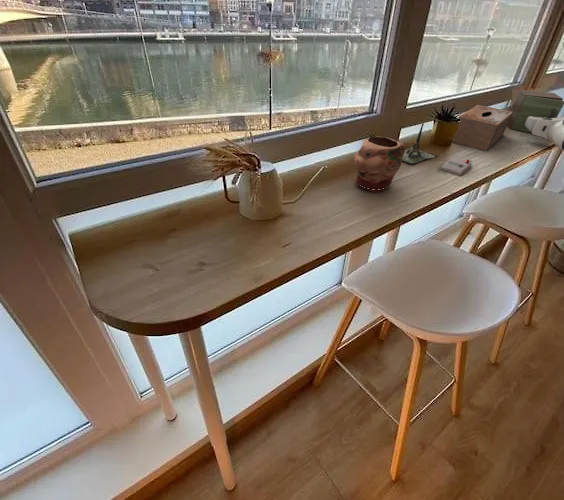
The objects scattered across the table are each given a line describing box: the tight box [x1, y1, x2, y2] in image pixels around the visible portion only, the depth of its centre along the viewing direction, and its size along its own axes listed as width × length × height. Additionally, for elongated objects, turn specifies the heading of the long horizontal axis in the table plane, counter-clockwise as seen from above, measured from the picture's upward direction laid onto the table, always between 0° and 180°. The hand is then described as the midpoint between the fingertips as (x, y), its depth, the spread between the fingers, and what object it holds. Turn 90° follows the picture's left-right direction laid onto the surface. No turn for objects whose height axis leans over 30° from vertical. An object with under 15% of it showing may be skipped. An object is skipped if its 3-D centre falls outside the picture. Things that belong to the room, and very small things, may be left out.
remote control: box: [440, 157, 473, 176], centre depth 114 cm, size 7×16×3 cm, turn 136°
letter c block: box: [510, 96, 564, 134], centre depth 143 cm, size 6×15×14 cm, turn 58°
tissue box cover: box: [451, 104, 513, 152], centre depth 137 cm, size 26×14×10 cm, turn 138°
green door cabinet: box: [507, 89, 564, 129], centre depth 151 cm, size 11×15×15 cm
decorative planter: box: [353, 135, 406, 193], centre depth 99 cm, size 20×12×14 cm, turn 128°
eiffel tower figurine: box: [402, 122, 436, 164], centre depth 118 cm, size 15×10×13 cm
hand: (549, 119), depth 140 cm, fingers closed
